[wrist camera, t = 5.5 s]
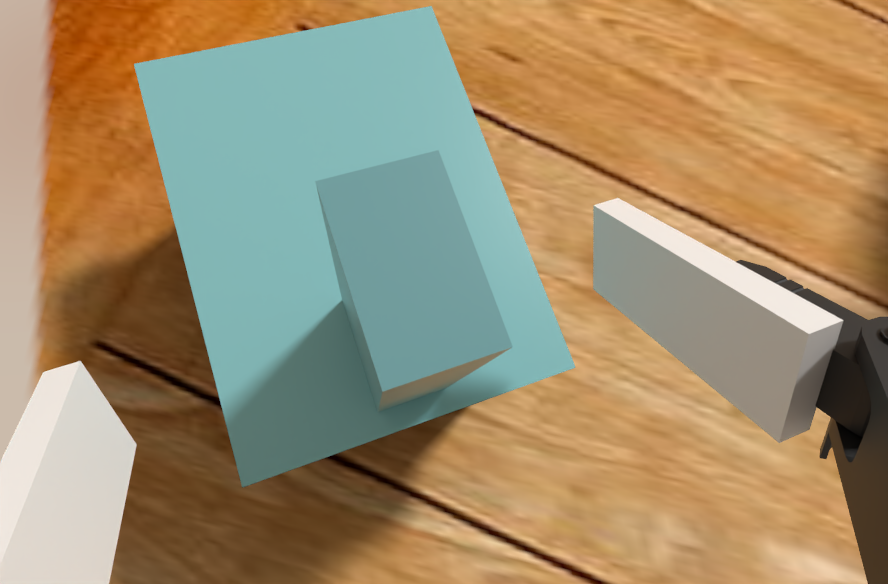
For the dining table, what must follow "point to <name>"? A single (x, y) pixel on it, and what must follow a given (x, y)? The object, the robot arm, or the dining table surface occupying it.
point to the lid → (344, 237)
